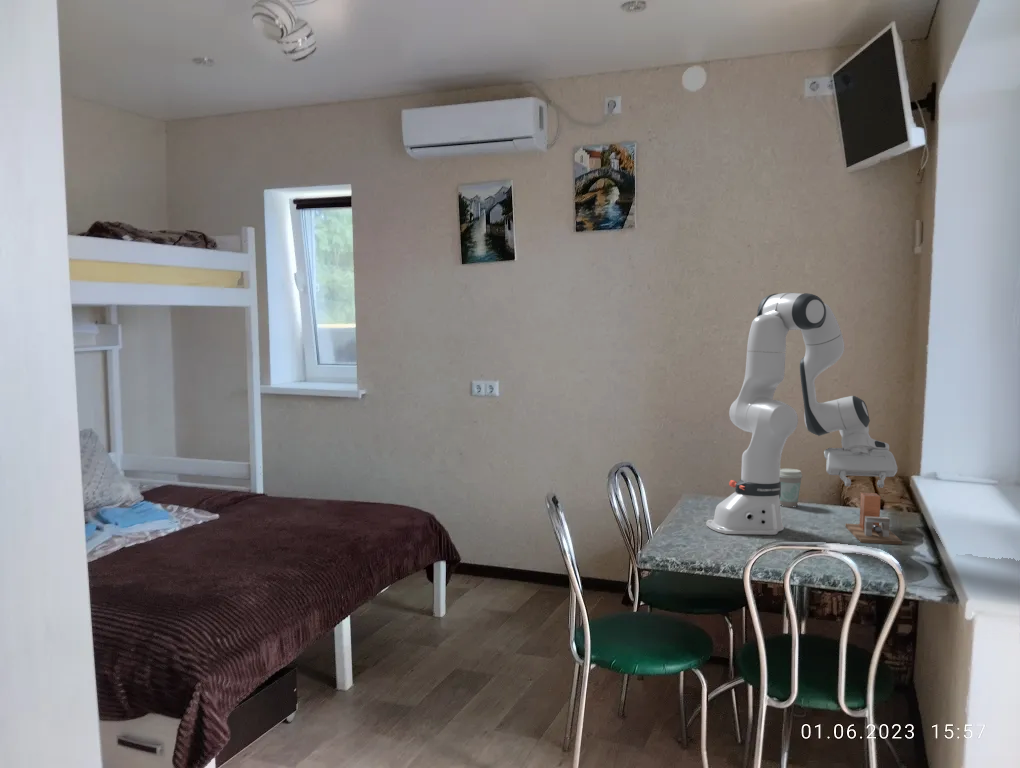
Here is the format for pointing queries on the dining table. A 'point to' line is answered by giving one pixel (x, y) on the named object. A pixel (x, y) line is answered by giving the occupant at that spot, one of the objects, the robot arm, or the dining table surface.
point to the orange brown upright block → (870, 509)
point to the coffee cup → (790, 486)
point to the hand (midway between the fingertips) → (864, 485)
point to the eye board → (871, 535)
